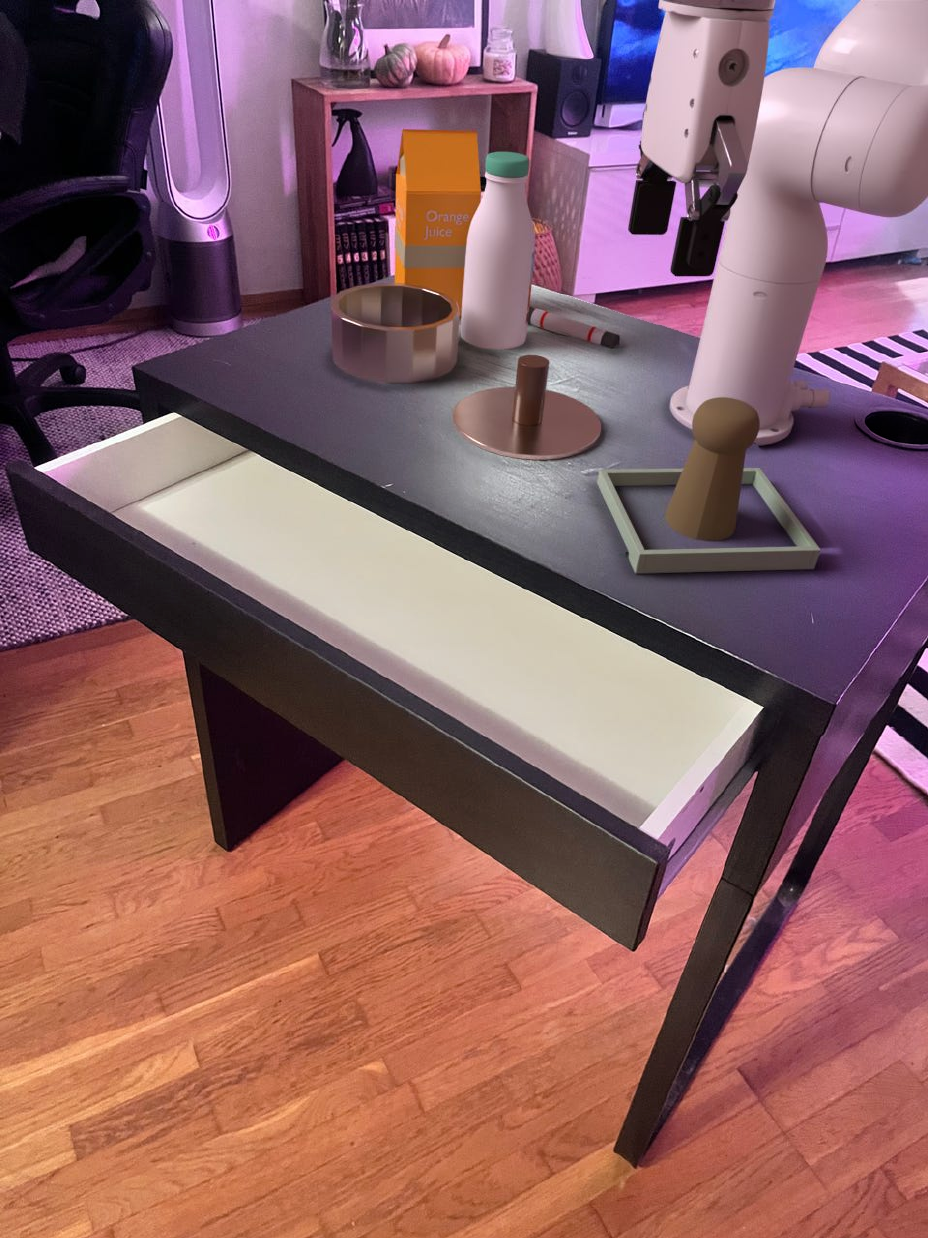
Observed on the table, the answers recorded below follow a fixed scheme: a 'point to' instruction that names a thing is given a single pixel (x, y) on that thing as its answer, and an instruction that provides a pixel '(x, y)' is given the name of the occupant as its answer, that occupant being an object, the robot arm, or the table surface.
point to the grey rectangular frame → (713, 557)
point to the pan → (394, 332)
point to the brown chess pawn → (713, 470)
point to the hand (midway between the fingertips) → (667, 253)
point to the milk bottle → (499, 258)
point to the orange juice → (435, 208)
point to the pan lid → (527, 417)
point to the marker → (572, 328)
